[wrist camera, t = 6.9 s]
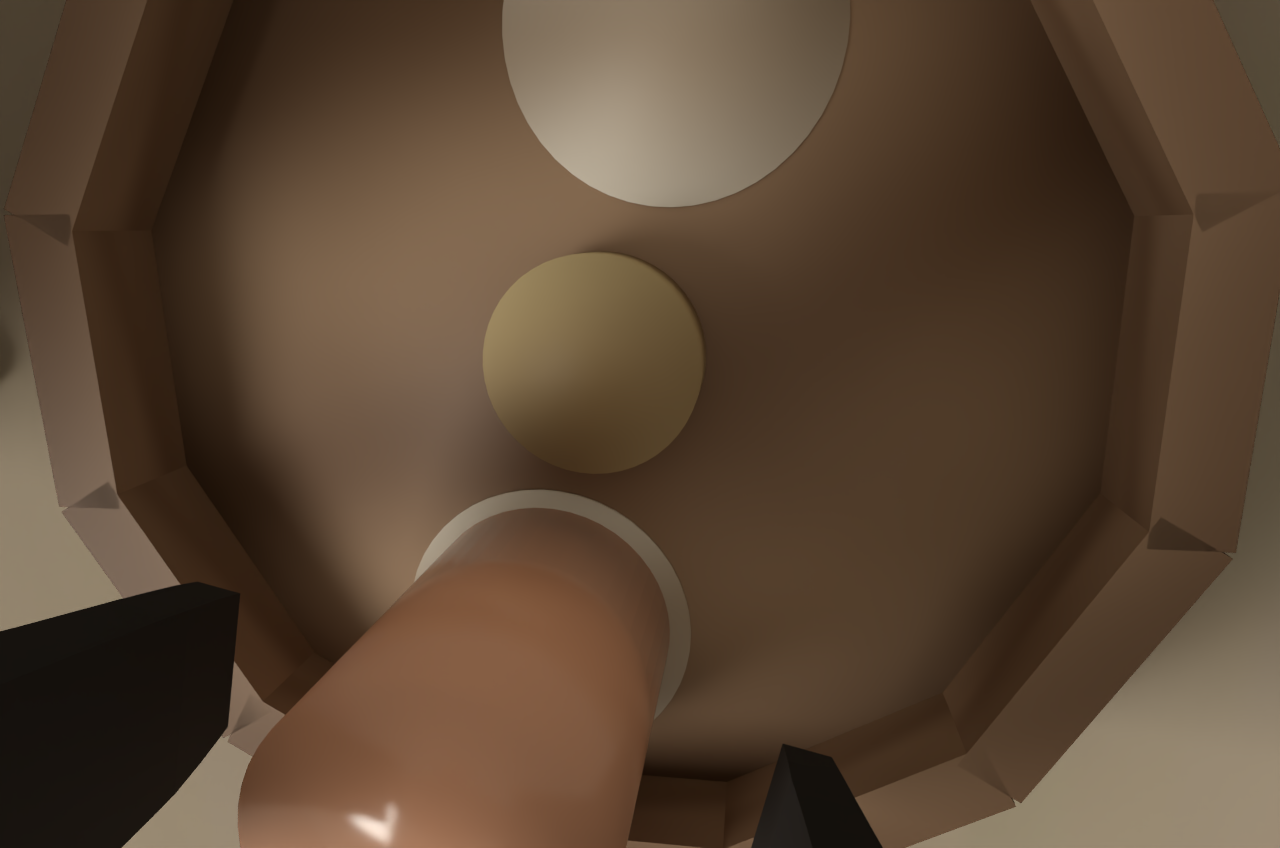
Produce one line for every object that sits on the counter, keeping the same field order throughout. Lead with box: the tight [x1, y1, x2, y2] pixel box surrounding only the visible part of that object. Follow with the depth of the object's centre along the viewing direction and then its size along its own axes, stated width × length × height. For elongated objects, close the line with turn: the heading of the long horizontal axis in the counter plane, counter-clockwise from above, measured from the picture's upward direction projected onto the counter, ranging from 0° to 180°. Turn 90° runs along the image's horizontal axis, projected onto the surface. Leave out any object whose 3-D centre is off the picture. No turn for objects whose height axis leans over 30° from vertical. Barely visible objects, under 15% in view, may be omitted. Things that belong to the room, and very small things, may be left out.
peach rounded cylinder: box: [238, 508, 670, 848], centre depth 11 cm, size 4×4×5 cm
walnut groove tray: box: [4, 0, 1280, 848], centre depth 12 cm, size 16×16×2 cm
